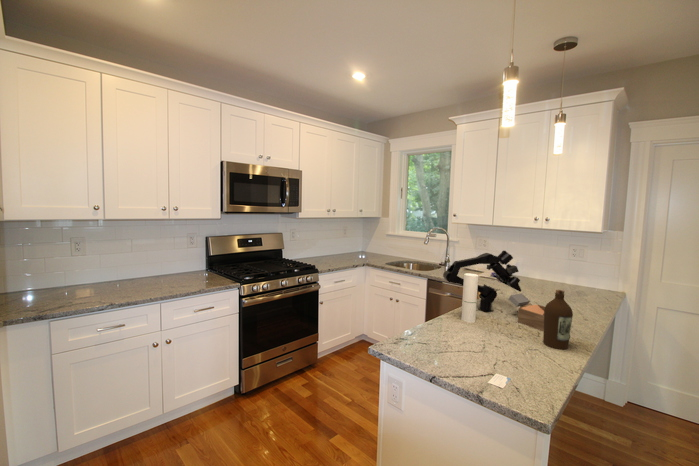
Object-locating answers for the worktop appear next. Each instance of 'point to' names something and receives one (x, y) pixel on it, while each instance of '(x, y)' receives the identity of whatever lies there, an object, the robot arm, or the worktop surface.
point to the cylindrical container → (469, 297)
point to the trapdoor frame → (531, 318)
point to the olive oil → (557, 322)
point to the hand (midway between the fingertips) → (516, 289)
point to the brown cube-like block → (526, 305)
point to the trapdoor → (525, 303)
